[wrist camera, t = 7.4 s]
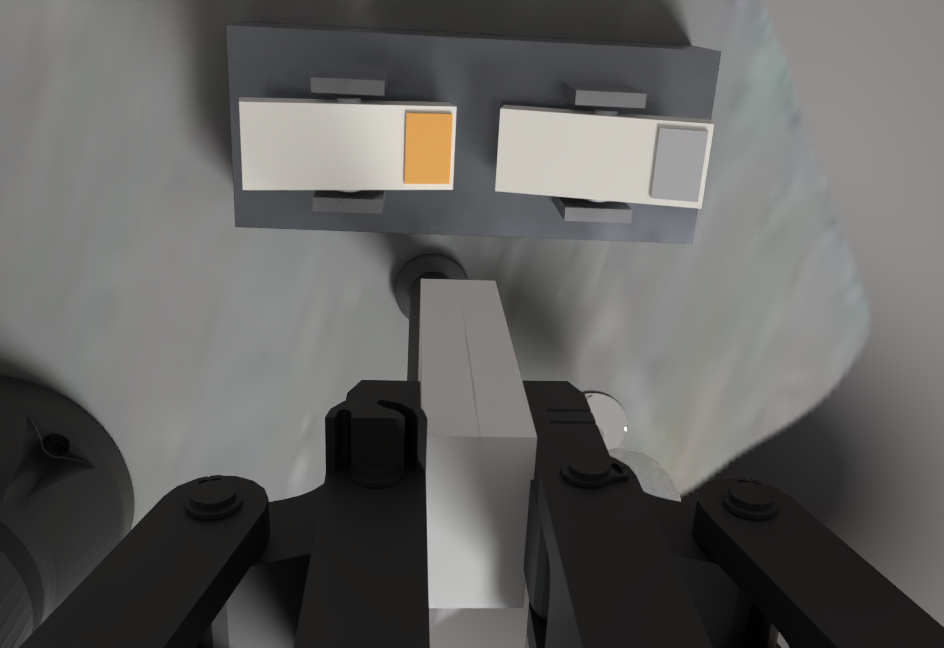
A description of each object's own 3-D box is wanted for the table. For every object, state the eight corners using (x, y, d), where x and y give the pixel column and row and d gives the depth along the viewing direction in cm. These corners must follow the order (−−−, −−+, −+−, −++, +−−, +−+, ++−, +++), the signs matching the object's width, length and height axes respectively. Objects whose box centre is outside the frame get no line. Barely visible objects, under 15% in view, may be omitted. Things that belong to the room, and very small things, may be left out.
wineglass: (553, 374, 49) (592, 486, 38) (649, 391, 50) (715, 506, 39) (530, 461, 51) (561, 592, 40) (623, 476, 52) (678, 609, 41)
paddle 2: (499, 187, 40) (494, 195, 38) (504, 101, 39) (500, 105, 37) (698, 204, 39) (701, 213, 37) (711, 116, 37) (714, 120, 36)
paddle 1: (242, 185, 37) (242, 194, 36) (238, 93, 36) (238, 98, 35) (445, 186, 40) (453, 193, 38) (448, 98, 38) (457, 103, 37)
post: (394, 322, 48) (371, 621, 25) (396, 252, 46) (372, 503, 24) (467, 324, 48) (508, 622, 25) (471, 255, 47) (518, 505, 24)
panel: (252, 204, 45) (220, 245, 38) (245, 21, 42) (209, 28, 35) (668, 220, 46) (713, 263, 39) (692, 45, 43) (746, 56, 36)
